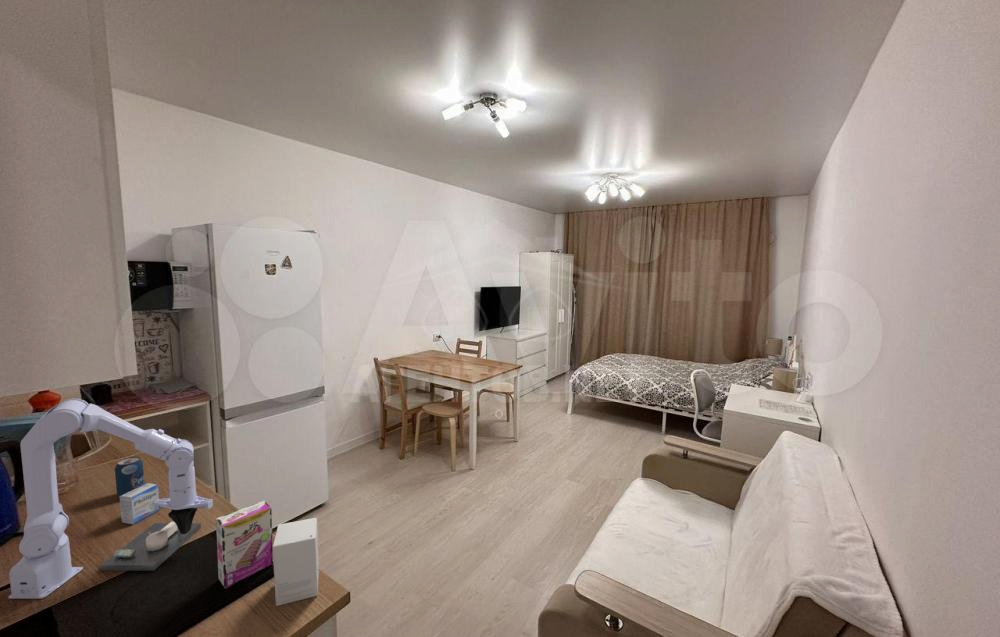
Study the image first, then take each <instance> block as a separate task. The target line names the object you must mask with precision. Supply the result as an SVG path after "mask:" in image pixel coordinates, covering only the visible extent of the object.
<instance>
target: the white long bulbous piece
mask: <svg viewBox="0 0 1000 637" xmlns="http://www.w3.org/2000/svg"><path fill="white" fill-rule="evenodd" d="M177 530H178V527H177V525H176V523H175V522H174V521H173V520H172V519H171V521H170V522H169V524H168V525H167V526H165V527H164V528H163V529H162V530H160V531H158V532H155V533H152V534H150V535H149V536H148V537H147V538H146V549H147V551H156V550H159V549H161V548H163V547H165V546H166V545H167V544H168V537H169V536H171V535H172V534H173V533H174V532H175V531H177Z"/></svg>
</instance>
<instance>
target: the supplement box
mask: <svg viewBox="0 0 1000 637" xmlns="http://www.w3.org/2000/svg"><path fill="white" fill-rule="evenodd" d="M318 538H319V536H318V519H317V517H313V518H308V519H301V520H298V521H292V522H286V523H279V524H278V525H277V529H276V533H275V536H274V540H273V542H272V550H273V575H274V576H273V577H274V578H273V579H274V593H275V594H274V595H275V597H274V598H275V606H276V607H278V606H282V605H287V604H290V603H294V602H298V601H302V600H305V599H306V600H307V599H309V598H314V597H317V596H318V594H319V581H320V579H319V578H320V566H319V565H320V564H319V563H320V562H319V561H320V559H319V539H318ZM318 569H319V570H318Z"/></svg>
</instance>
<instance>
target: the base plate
mask: <svg viewBox="0 0 1000 637" xmlns="http://www.w3.org/2000/svg"><path fill="white" fill-rule="evenodd" d="M169 523H170V522H169ZM169 523H168V522H155V523H153V524H152V525H150V526H149V527H148V528H147V529H146V530H144V531H143V532H141V533H140V534H138V535H137V536H136V537H135V538H133V539H132V540H131V541H130V542H128V543H127V544H125V546H123V547H121V548H120V549H117V550H115V551H114V553H113V555H111V556H110V557H109V558H108V559H106V560H105V561H104V562H102V563H101V564H99V566H100V568H99V569H100V571H104V572H105V571H107V572H108V571H113V572H114V571H115V572H117V571H122V572H125V571H128V572H129V571H131V572H132V571H140V572H141V571H142V572H143V571H146V572H147V571H155V570H156V569H157V568H159V566H160V565H162V564H163V563H165V561H166V560H167V559H169V557H171V556H172V555H173V554H174V553H175V552H176V551H178V549H179V548H181V547H182V545H184V544H185V543H186V542H187V541H188V540H190V538H192V537H193V536H194V535H196V533H197V532H198V531H199V530H200V529H201V528H202V527H201V526H202V525H201V523H199V522H198V523H197V522H195V523H194V522H192V525H191V530H190V531H189V532H187V533H186V534H181V533H180V531H179V529H178V530H177V531H175V532H174V533H173V534H172V535H171V536H169V537H168V544H167V545H166V546H165V547H163V548H161V549H159V550H156V551H147V549H146V538H147V537H148V536H149V535H150V534H152V533H155V532H158V531H160V530H162V529H163V528H164V527H165V526H167V525H168V524H169Z"/></svg>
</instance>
